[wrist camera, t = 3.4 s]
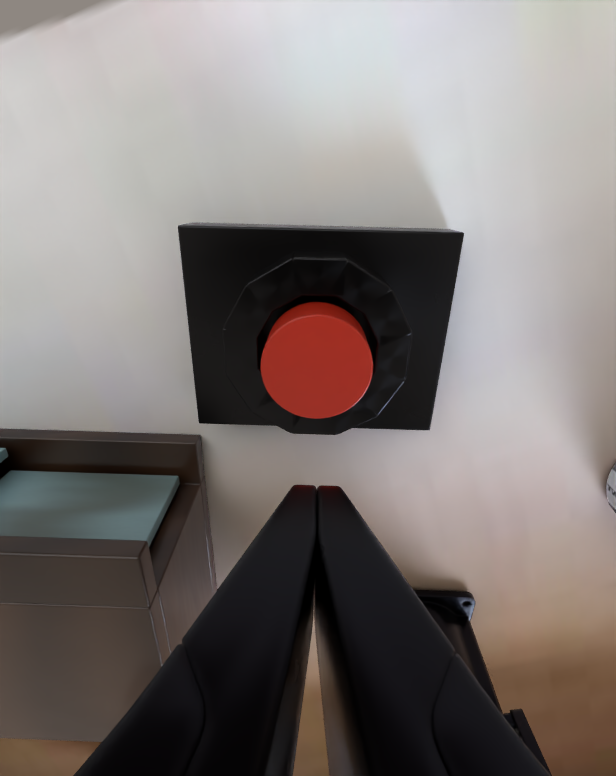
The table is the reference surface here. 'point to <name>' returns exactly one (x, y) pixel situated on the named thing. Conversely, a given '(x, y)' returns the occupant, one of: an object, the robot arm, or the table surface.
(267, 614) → the robot arm
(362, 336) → the red button
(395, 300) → the button housing
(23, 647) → the display cabinet
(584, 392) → the table surface
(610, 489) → the pill bottle
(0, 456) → the cabinet door
